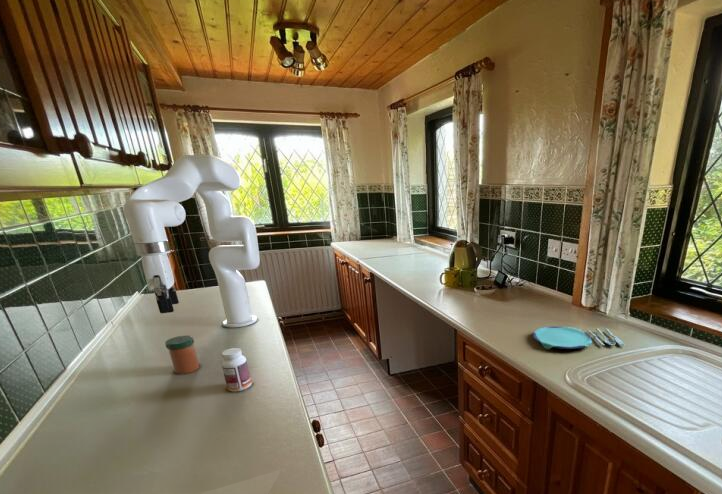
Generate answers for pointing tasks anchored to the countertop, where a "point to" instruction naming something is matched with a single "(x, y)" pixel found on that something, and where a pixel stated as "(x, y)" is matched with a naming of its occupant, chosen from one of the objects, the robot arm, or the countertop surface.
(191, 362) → the jam jar
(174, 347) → the jar lid
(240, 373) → the pill bottle
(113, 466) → the countertop surface
